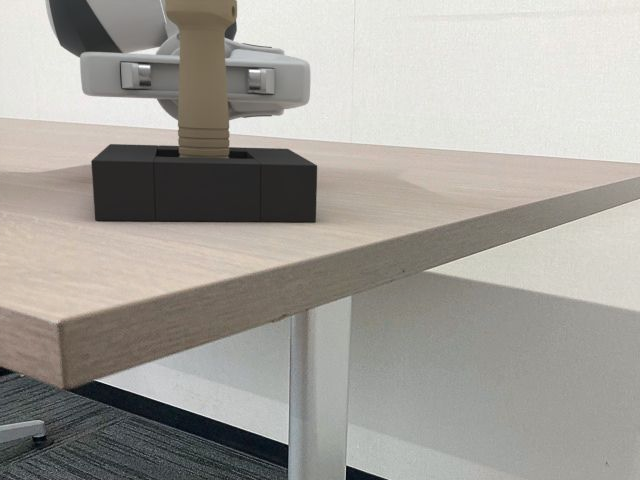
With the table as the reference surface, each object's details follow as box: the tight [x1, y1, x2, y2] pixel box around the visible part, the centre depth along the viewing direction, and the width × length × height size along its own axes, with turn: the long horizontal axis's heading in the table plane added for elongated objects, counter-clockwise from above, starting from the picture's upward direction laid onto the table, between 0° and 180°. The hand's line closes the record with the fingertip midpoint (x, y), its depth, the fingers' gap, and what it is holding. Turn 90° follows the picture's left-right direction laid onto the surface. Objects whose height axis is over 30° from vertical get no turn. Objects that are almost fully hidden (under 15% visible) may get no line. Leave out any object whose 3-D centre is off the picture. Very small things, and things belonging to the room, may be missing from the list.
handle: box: [165, 0, 238, 158], centre depth 58 cm, size 5×6×15 cm
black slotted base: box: [90, 143, 318, 223], centre depth 60 cm, size 15×15×4 cm
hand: (200, 78), depth 63 cm, fingers open, 8 cm apart
